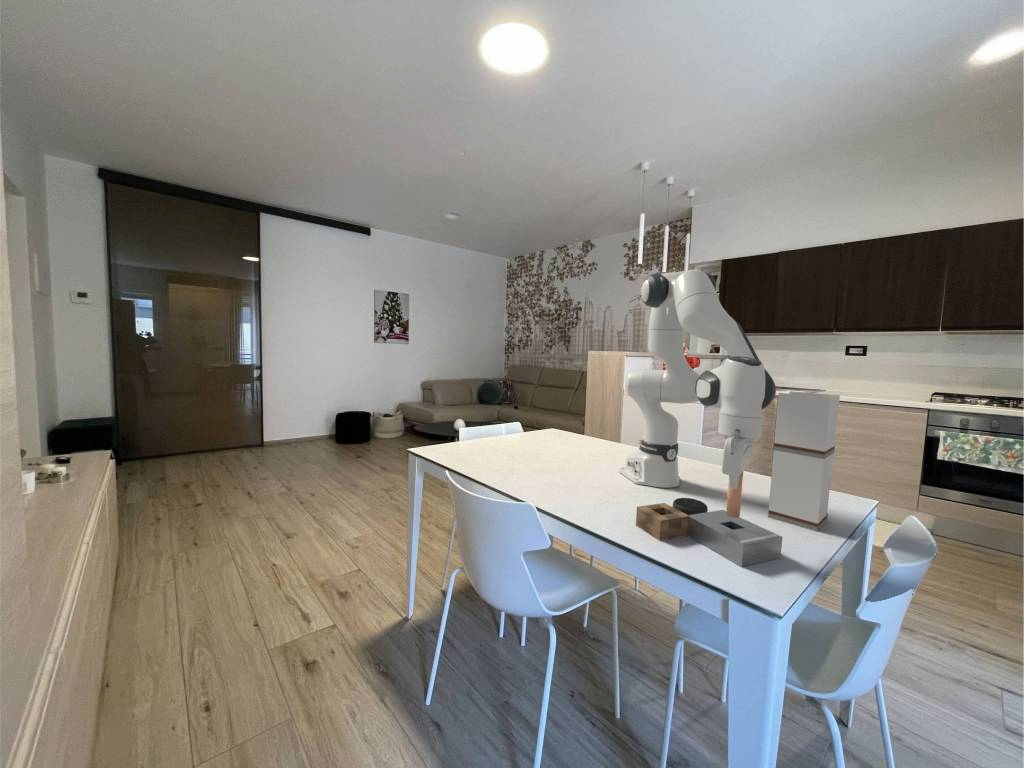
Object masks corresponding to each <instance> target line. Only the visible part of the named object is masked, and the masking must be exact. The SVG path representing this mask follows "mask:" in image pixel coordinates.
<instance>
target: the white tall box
mask: <svg viewBox="0 0 1024 768" xmlns="http://www.w3.org/2000/svg"><path fill="white" fill-rule="evenodd" d="M840 398H841V396H840V395H839V394H829V393H817V392H816V393H815V392H806V391H805V392H804V391H795V390H789V392H788V393H783V392H779V393H778V395H777V405H776V406H777V407H776V408H777V409H776V418H775V429H774V430H775V431H774V440H773V441H774V443H773V455H772V465H771V476H770V477H771V479H770V488H769V489H770V490H769V501H768V511H767V518H769V519H774V520H777V521H781V522H784V523H787V524H790V525H794V526H798V527H801V528H804V529H808V530H811V531H814V532H818V531H819V530H820V529H822V527H823V526H824V525H825V524H826V523H827V522H828V521H829V520H828V519H829V513H828V508H829V499H830V490H831V489H830V486H831V477H832V470H833V469H832V467H833V459H834V456H835V446H836V440H837V439H836V437H837V427H838V419H839V418H838V417H839V410H840V409H839V407H840Z"/></svg>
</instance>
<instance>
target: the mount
mask: <svg viewBox="0 0 1024 768" xmlns="http://www.w3.org/2000/svg"><path fill="white" fill-rule="evenodd" d="M635 516H636V518H635V520H636V521H635V526H637V527H638V528H640V529H641V530H642V531H644V532H645V533H647V534H648V535H650V536H652V537H653V538H654V539H657V540H658V541H665V540H671V539H676V538H681V537H682V538H683V537H688V536H687V529H688V516H687V514H685V513H683V512H681V511H679V510H677V509H675V508H673V506H671V505H670V504H667V503H665V502H662V503H655V504H648V505H639V506H636V515H635Z"/></svg>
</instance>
